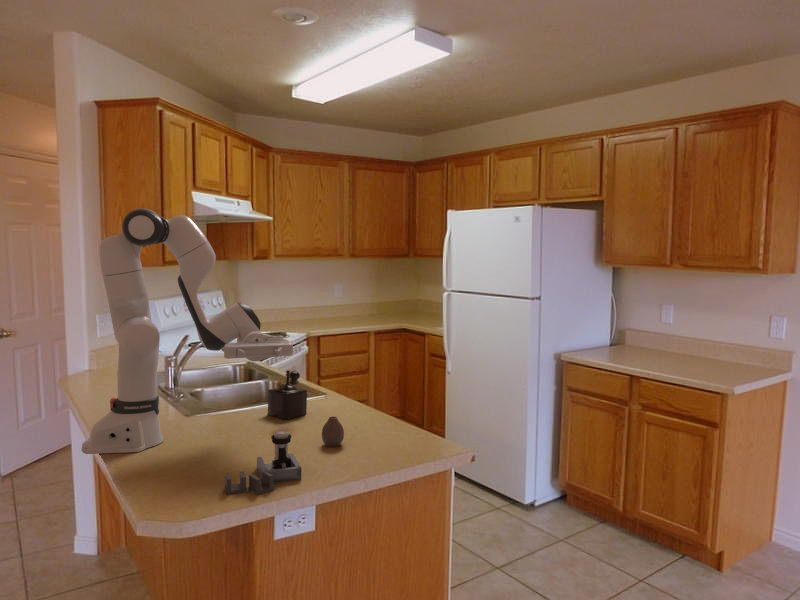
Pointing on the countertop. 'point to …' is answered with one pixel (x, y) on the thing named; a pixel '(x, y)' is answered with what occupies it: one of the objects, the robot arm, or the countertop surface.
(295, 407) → the black box with knob
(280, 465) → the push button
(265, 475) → the clip
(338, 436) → the vase
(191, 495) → the countertop surface
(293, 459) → the end holder
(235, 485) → the clip
